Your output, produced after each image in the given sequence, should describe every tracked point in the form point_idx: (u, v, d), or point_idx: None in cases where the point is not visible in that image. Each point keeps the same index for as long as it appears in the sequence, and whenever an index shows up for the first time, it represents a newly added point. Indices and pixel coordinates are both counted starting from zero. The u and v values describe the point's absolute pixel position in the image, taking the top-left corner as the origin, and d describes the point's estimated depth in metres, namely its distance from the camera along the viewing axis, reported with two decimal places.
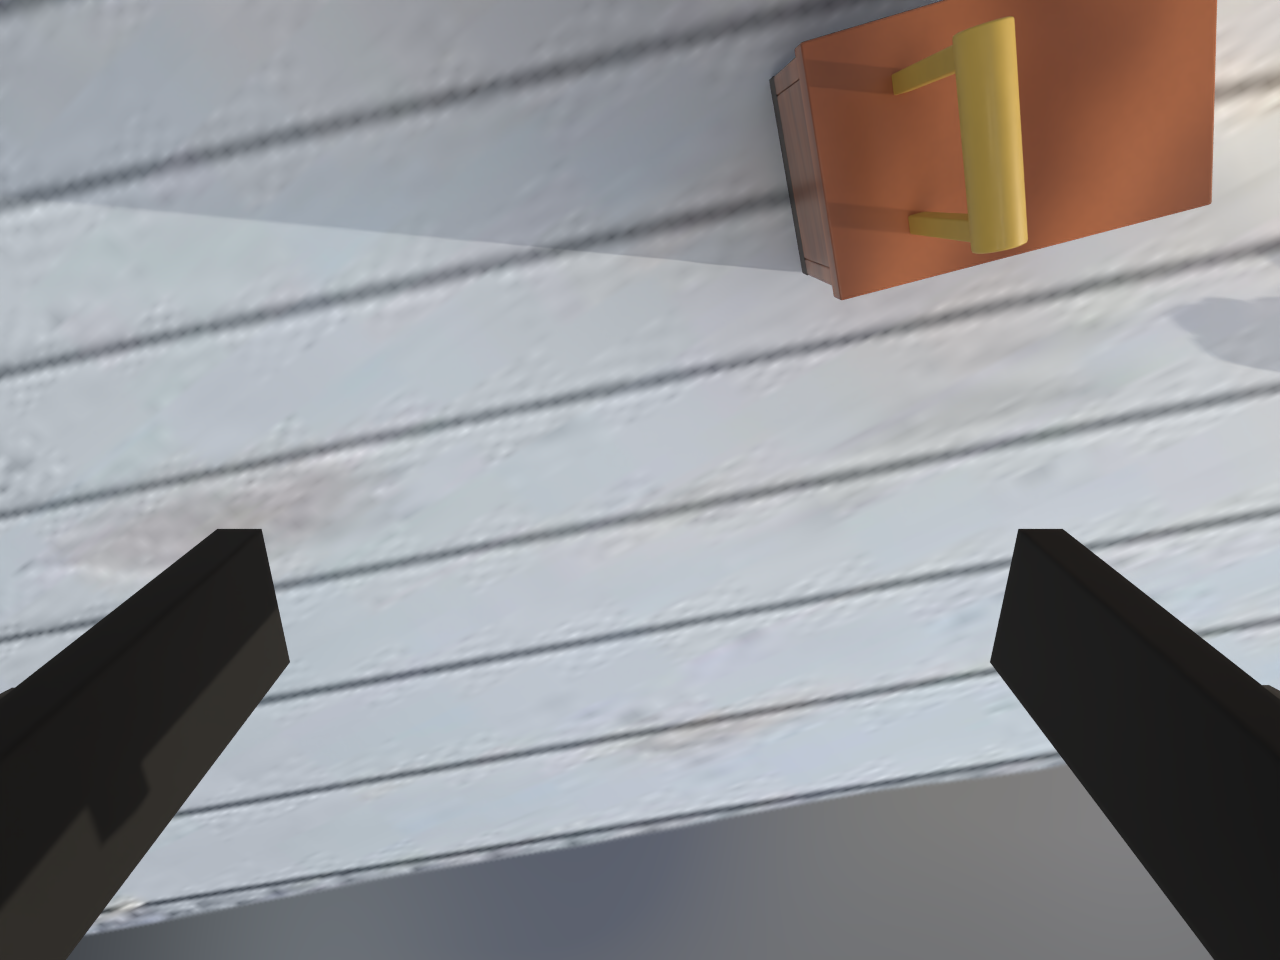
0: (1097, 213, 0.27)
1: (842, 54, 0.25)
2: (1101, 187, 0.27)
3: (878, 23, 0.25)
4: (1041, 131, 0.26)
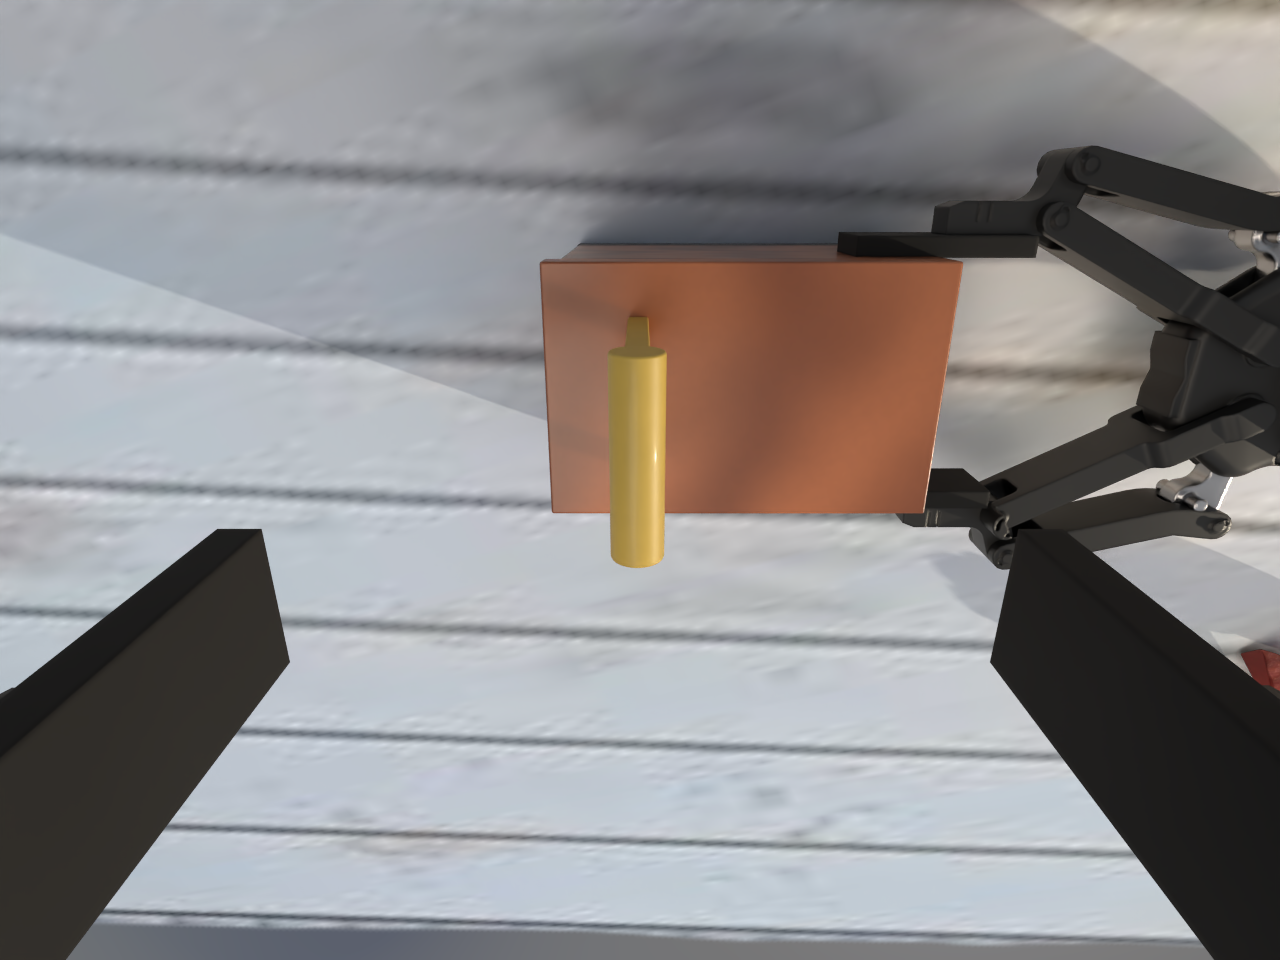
0: (815, 495, 0.27)
1: (581, 284, 0.24)
2: (821, 473, 0.27)
3: (621, 265, 0.24)
4: (770, 407, 0.26)
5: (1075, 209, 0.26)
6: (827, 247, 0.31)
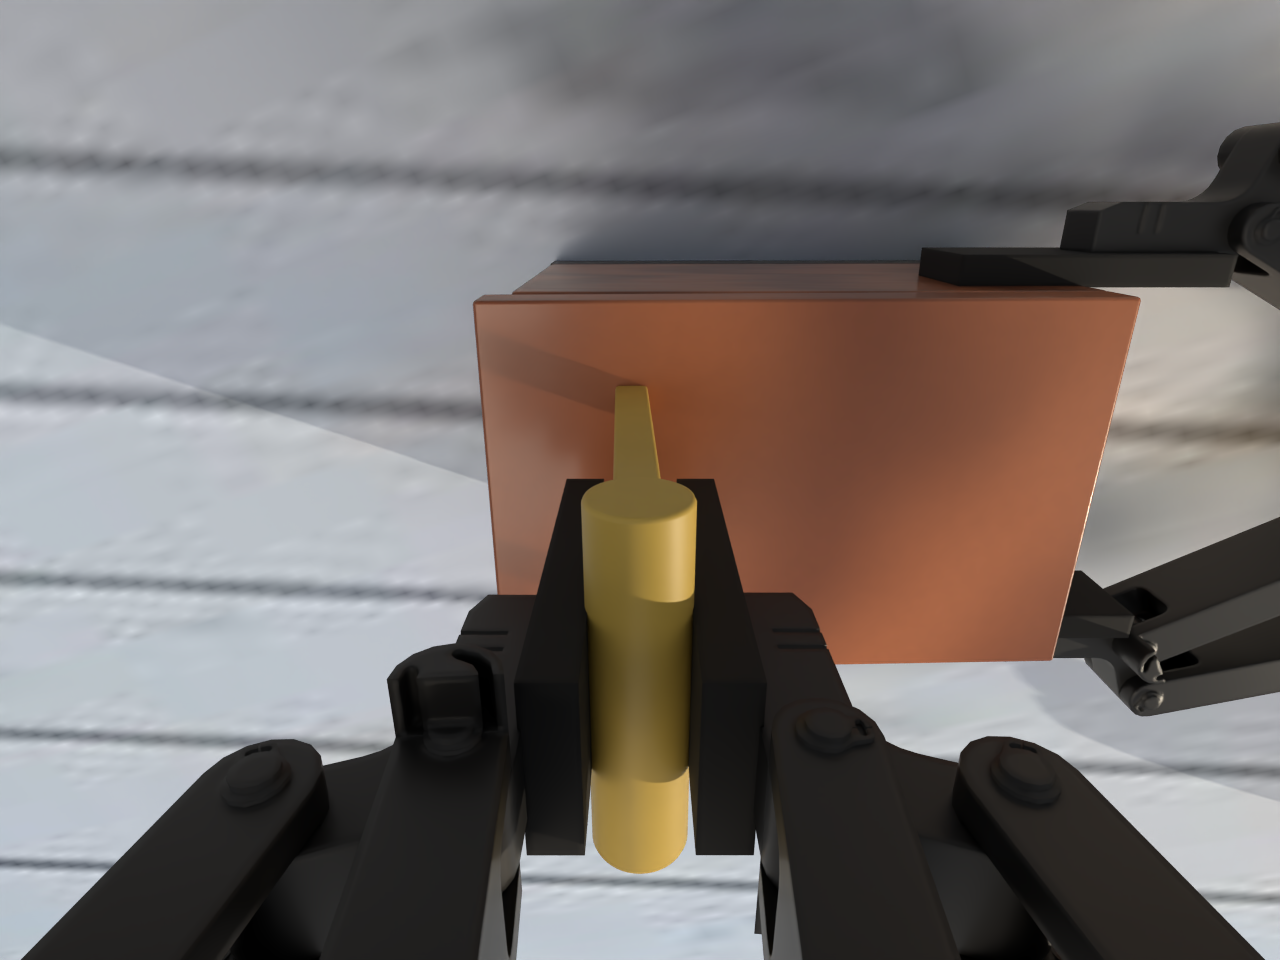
0: (895, 639, 0.18)
1: (540, 336, 0.15)
2: (905, 608, 0.18)
3: (604, 306, 0.15)
4: (833, 517, 0.17)
5: None
6: (896, 267, 0.22)
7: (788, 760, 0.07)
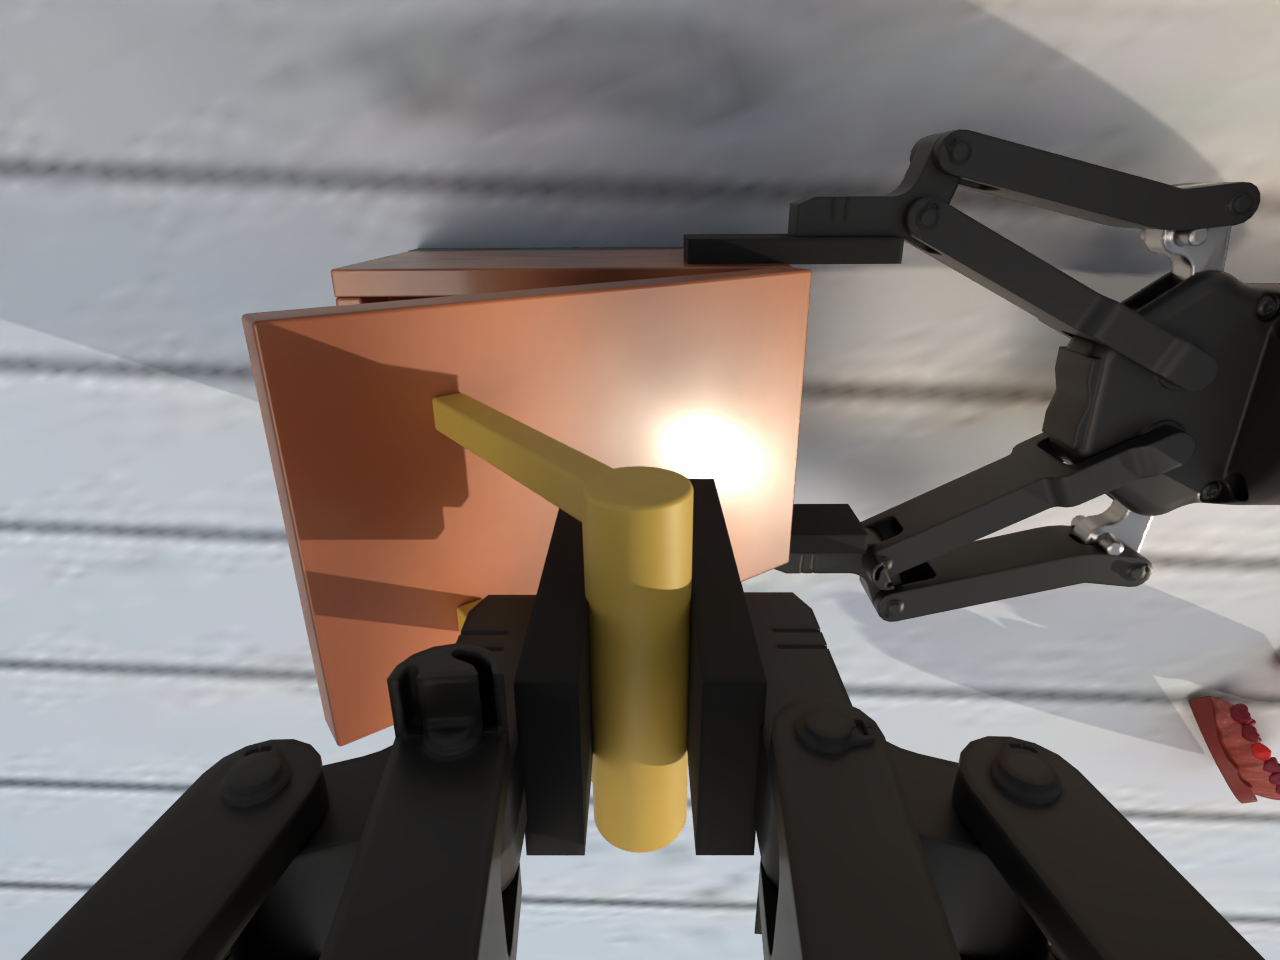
0: None
1: (341, 354, 0.13)
2: None
3: (409, 313, 0.14)
4: None
5: (945, 205, 0.21)
6: None
7: (788, 760, 0.07)
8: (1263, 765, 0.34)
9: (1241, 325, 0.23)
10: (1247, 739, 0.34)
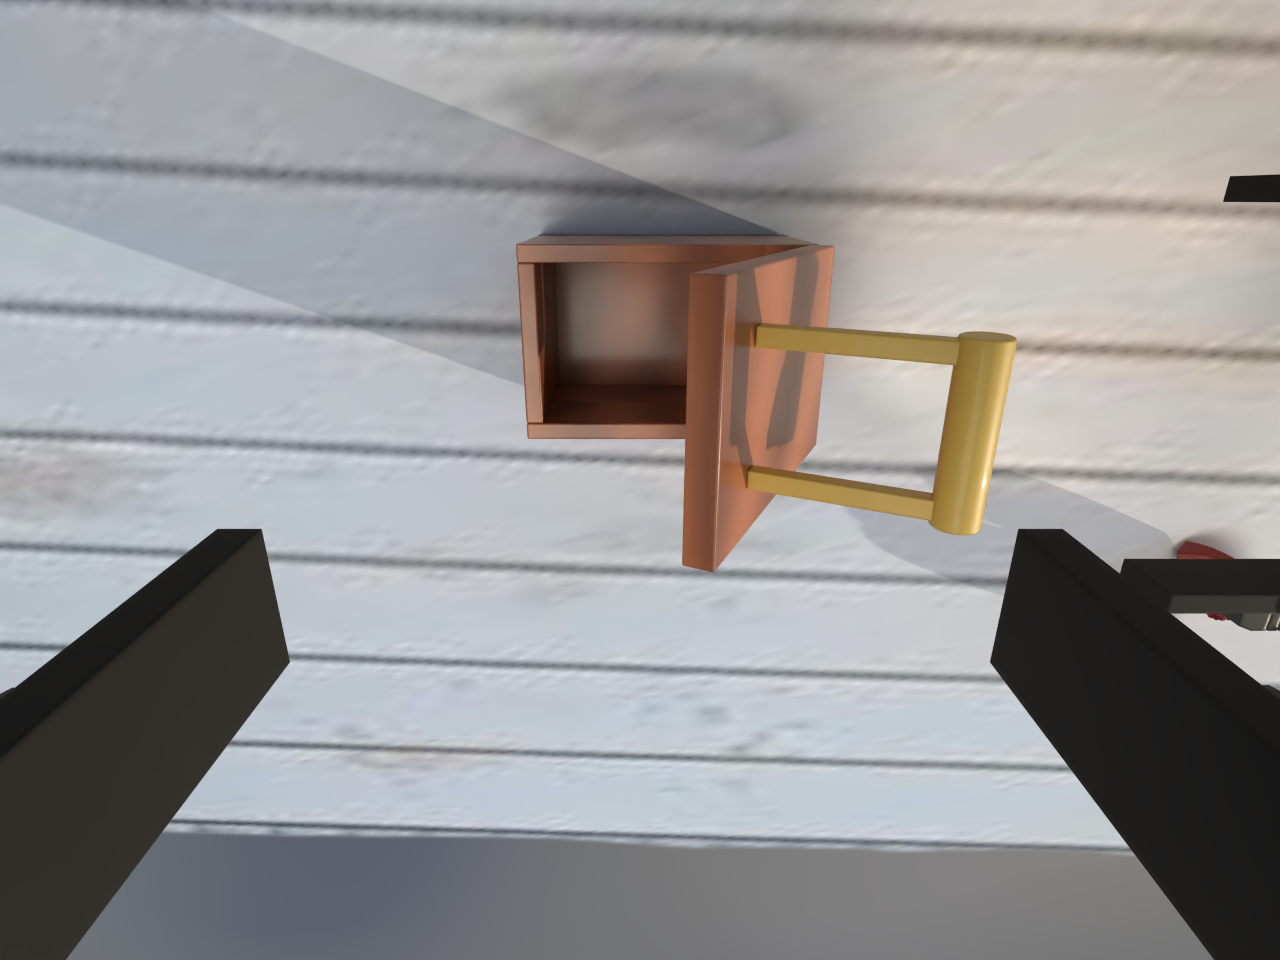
0: (795, 456, 0.31)
1: (742, 297, 0.21)
2: (797, 435, 0.31)
3: (757, 271, 0.22)
4: (789, 389, 0.28)
5: None
6: (739, 237, 0.38)
7: None
8: None
9: None
10: None
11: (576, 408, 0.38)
